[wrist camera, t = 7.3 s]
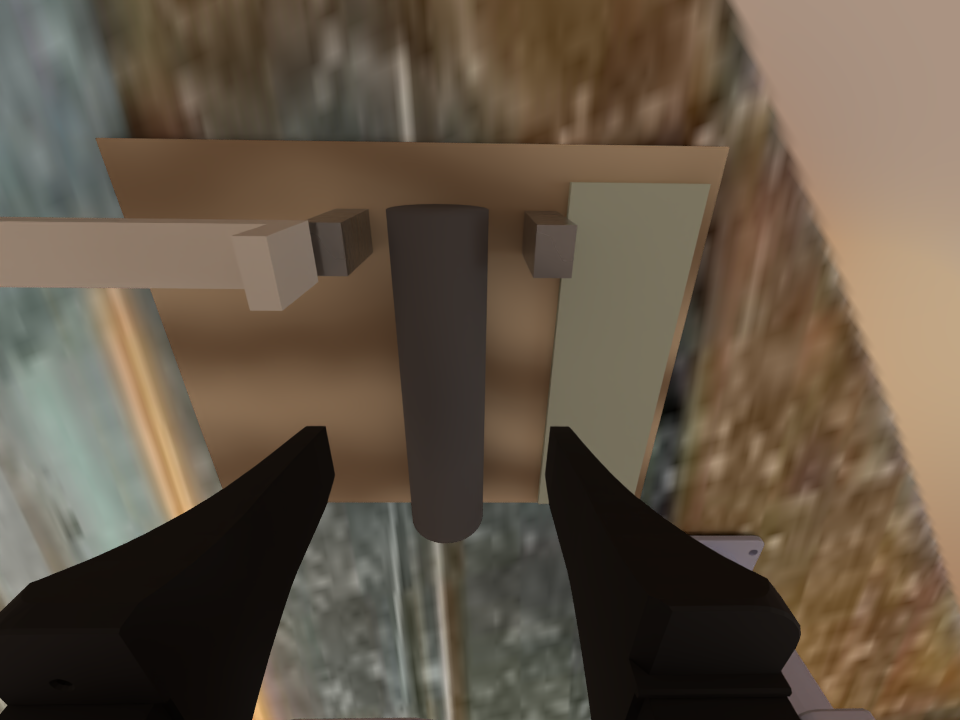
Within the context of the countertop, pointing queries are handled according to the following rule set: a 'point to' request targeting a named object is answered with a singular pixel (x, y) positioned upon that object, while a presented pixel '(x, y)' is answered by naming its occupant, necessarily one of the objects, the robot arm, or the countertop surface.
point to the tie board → (370, 305)
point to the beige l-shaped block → (161, 255)
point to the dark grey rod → (442, 359)
